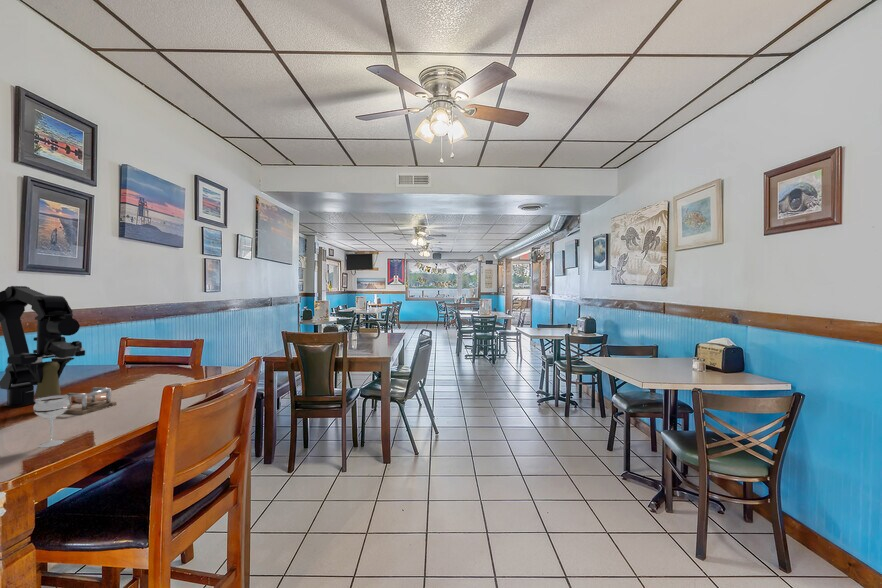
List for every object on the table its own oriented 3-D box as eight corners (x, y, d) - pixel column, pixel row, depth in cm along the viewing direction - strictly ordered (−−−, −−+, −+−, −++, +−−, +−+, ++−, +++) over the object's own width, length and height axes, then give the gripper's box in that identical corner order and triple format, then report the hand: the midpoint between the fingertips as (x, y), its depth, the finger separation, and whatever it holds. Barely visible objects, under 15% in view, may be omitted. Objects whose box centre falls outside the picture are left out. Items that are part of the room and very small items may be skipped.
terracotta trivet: (66, 401, 137) (67, 399, 137) (95, 394, 147) (95, 392, 147) (91, 403, 136) (91, 400, 136) (118, 396, 146) (118, 393, 146)
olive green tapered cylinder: (65, 393, 131) (66, 360, 131) (46, 397, 125) (46, 363, 125) (49, 392, 131) (50, 359, 131) (29, 396, 125) (30, 362, 125)
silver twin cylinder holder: (64, 408, 126) (65, 393, 126) (93, 401, 135) (94, 386, 135) (83, 410, 125) (84, 394, 125) (111, 402, 134) (112, 387, 134)
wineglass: (70, 443, 101) (71, 397, 101) (32, 451, 96) (33, 402, 96) (67, 436, 106) (68, 393, 106) (31, 443, 100) (32, 397, 100)
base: (59, 412, 126) (59, 409, 126) (94, 403, 136) (94, 400, 136) (83, 414, 124) (83, 411, 124) (116, 404, 135) (116, 402, 135)
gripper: (37, 338, 118) (35, 389, 118) (99, 332, 136) (98, 376, 136) (6, 336, 119) (5, 387, 119) (72, 331, 138) (70, 375, 138)
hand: (48, 381), depth 128 cm, fingers closed on olive green tapered cylinder, 4 cm apart
